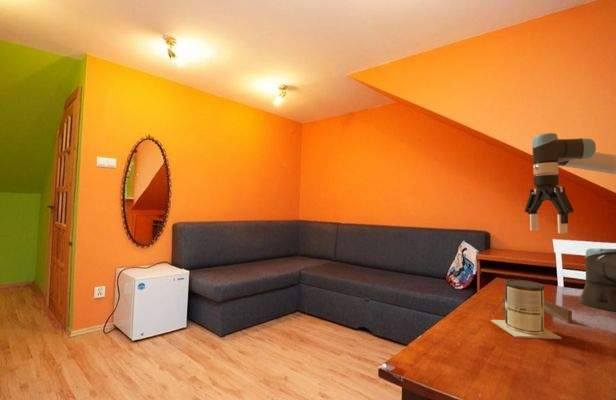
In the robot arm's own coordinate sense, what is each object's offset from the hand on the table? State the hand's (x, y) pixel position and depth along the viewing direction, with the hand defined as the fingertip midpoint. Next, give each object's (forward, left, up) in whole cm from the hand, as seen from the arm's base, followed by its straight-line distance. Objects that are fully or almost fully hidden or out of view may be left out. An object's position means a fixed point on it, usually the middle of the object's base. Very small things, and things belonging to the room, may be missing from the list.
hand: (547, 231), depth 114 cm
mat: (+20, +18, -30) cm, 40 cm away
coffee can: (+20, +18, -30) cm, 40 cm away
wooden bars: (+7, +4, -30) cm, 31 cm away
